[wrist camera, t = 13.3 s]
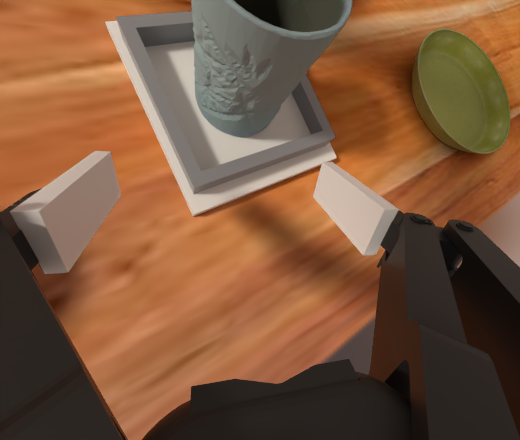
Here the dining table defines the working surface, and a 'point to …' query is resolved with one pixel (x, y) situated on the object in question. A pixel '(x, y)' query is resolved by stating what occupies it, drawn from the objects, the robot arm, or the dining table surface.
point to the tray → (201, 131)
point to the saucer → (460, 93)
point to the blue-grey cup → (257, 55)
